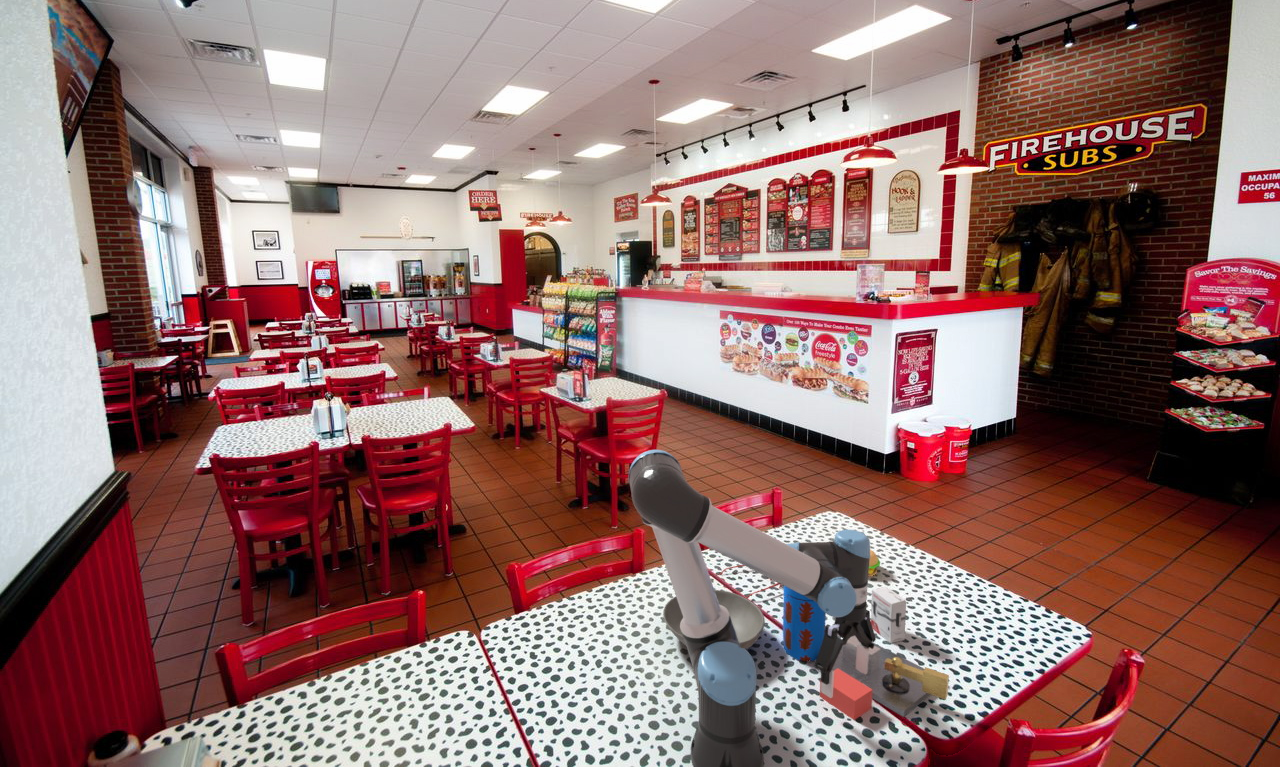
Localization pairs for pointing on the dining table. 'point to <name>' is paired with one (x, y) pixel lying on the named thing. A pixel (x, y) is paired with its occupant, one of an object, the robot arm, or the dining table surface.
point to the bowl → (740, 609)
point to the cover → (849, 695)
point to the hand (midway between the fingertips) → (844, 682)
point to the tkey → (919, 677)
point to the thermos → (802, 626)
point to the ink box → (888, 614)
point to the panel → (882, 677)
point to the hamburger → (873, 563)
